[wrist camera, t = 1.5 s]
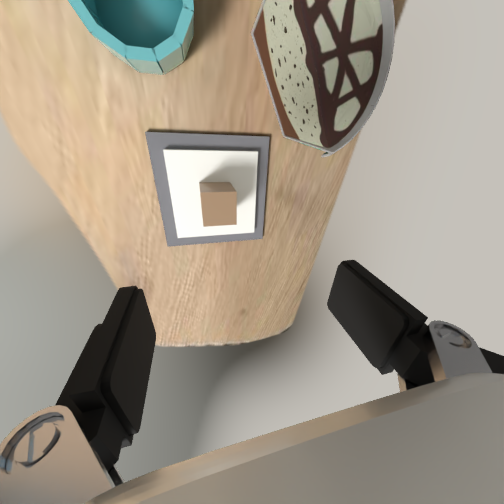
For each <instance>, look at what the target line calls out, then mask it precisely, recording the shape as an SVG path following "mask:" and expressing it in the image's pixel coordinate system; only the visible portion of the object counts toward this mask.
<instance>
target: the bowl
mask: <svg viewBox="0 0 504 504" xmlns="http://www.w3.org/2000/svg"><path fill="white" fill-rule="evenodd" d="M68 1H69V3H70V4H71V6H72V7H73V9H74V10H75V11H76V13H77V14H78V16H79V17H80V19H81V20H82V22H83V23H84V25H85V26H86V27H87V29H88V30H89V32H90V33H91V34H92V35H93V36H94V37H95V38H96V39H97V40H98V41H99V42H100V43H101V44H102V45H104V46H105V47H106V48H107V49H108V50H109V51H110V52H111V53H112V54H113V55H115V56H116V57H117V58H119V59H120V60H122V61H123V62H125V63H126V64H128V65H129V66H130V67H132V68H133V69H135V70H136V71H139V72H140V73H150V74H160V75H164V74H166V73H168V72H169V71H171V70H172V69H174V68H175V67H177V66H178V65H180V64H181V63H183V61H184V60H185V57H186V55H187V52H188V49H189V47H190V44H191V41H192V39H193V36H194V5H193V0H68ZM163 72H164V74H163Z"/></svg>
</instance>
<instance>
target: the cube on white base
mask: <svg viewBox="0 0 504 504" xmlns="http://www.w3.org/2000/svg"><path fill="white" fill-rule="evenodd" d="M163 152H164V158H165V164H166V170H167V176H168V182H169V188H170V194H171V200H172V207H173V213H174V219H175V225H176V231H177V237H178V238H185V237H199V236H213V235H227V234H241V233H254V227H255V205H256V184H257V162H258V152H257V151H229V150H183V149H163Z"/></svg>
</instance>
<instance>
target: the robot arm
mask: <svg viewBox="0 0 504 504" xmlns="http://www.w3.org/2000/svg"><path fill="white" fill-rule="evenodd" d="M327 305H328V308H329V310H330V311H331V312H332V313H333V315H334V316H335V318H336V319H337V320H338V322H339V323H340V324H341V325H342V327H343V328H344V329H345V331H346V332H347V333H348V334H349V336H350V337H351V338H352V340H353V341H354V342H355V344H356V345H357V346H358V347H359V349H360V350H361V351H362V352H363V354H364V355H365V356H366V358H367V359H368V360H369V361H370V363H371V364H372V365H373V366H374V367H375V368H377V369H378V370H379V371H380V373H381V374H382V375H383V374H387V373H390V372H392V371H393V370H394V369H395V370H396V372H397V373H398V380H399V388H400V393H396V394H393V395H390V396H386V397H383V398H380V399H377V400H373V401H370V402H367V403H364V404H360V405H357V406H354V407H351V408H348V409H344V410H341V411H338V412H335V413H332V414H328V415H325V416H322V417H319V418H315V419H312V420H309V421H306V422H303V423H299V424H296V425H293V426H290V427H287V428H284V429H281V430H277V431H274V432H271V433H268V434H265V435H262V436H258V437H256V438H252V439H249V440H246V441H243V442H240V443H237V444H233V445H230V446H227V447H224V448H221V449H218V450H215V451H211V452H209V453H205V454H203V455H200V456H197V457H194V458H191V459H188V460H185V461H182V462H179V463H176V464H173V465H170V466H167V467H164V468H161V469H158V470H155V471H153V472H151V473H148V474H145V475H143V476H140V477H138V478H135V479H133V480H130V481H128V482H124V479H123V478H122V476H121V474H120V473H119V471H118V469H117V467H116V466H115V463H116V462H117V461H118V459H119V454H120V450H121V448H123V447H127V446H131V444H132V440H133V435H134V434H135V433H138V432H139V429H140V425H141V419H142V414H143V409H144V403H145V397H146V392H147V386H148V380H149V375H150V368H151V364H152V358H153V353H154V347H155V341H156V332H155V329H154V325H153V322H152V319H151V315H150V312H149V309H148V305H147V302H146V299H145V296H144V292H143V290H142V289H138V288H137V286H130V287H122V288H119V290H118V292H117V294H116V296H115V298H114V300H113V302H112V304H111V307H110V309H109V311H108V313H107V315H106V317H105V319H104V321H103V323H102V324H98V325H97V326H96V327H95V328H94V330H93V332H92V333H91V335H90V338H89V339H88V341H87V343H86V345H85V347H84V349H83V351H82V353H81V355H80V357H79V359H78V361H77V363H76V365H75V368H74V369H73V371H72V373H71V375H70V377H69V379H68V381H67V383H66V385H65V387H64V389H63V391H62V393H61V395H60V397H59V399H58V401H57V403H56V405H55V406H50V407H47V408H45V409H42V410H40V411H38V412H36V413H34V414H33V415H31V416H29V417H28V418H26V419H25V420H24V421H23V422H21V423H20V424H19V425H18V426H16V427H15V428H14V429H13V430H12V431H11V432H10V433H9V434H8V435H7V437H5V438H4V440H3V441H2V442H1V444H0V504H504V356H502V355H499V354H496V353H493V352H491V351H487V350H485V349H482V348H479V347H478V345H477V344H476V342H475V341H474V339H473V338H472V337H471V336H470V335H469V334H467V333H466V332H465V331H463V330H462V329H461V328H459V327H457V326H454V325H453V324H450V323H447V322H444V321H432V322H431V323H430V324H429V325H428V326H427V325H426V324H425V321H426V320H427V318H428V317H426V316H425V315H424V314H423V313H421V312H420V311H419V310H418V309H416V308H415V307H414V306H413V305H411V304H410V303H409V302H407V301H406V300H405V299H403V298H402V297H401V296H400V295H399V294H397V293H396V292H395V291H393V290H392V289H391V288H390V287H388V286H387V285H386V284H385V283H383V282H382V281H381V280H379V279H378V278H377V277H376V276H374V275H373V274H372V273H370V272H369V271H368V270H367V269H365V268H364V267H363V266H362V265H360V264H359V263H358V262H356V261H355V260H347V261H342V262H341V264H340V265H339V266H338V268H337V271H336V275H335V278H334V282H333V285H332V288H331V292H330V295H329V299H328V302H327Z"/></svg>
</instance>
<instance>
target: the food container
mask: <svg viewBox="0 0 504 504" xmlns="http://www.w3.org/2000/svg"><path fill="white" fill-rule="evenodd" d="M394 33H395V18H394V4H393V0H262V3H261V6H260V8H259V11H258V14H257V17H256V20H255V22H254V25H253V28H252V31H251V36H252V39H253V42H254V45H255V48H256V51H257V55H258V58H259V61H260V64H261V67H262V71H263V74H264V77H265V80H266V83H267V87H268V90H269V93H270V96H271V99H272V103H273V106H274V109H275V112H276V115H277V119H278V122H279V125H280V128H281V131H282V135H283V137H284V138H287V139H290V140H293V141H296V142H299V143H302V144H305V145H307V146H310V147H313V148H316V149H319V150H322V151H325V152H326V153H324V154H323V155H321V157H326V156H330V155H332V154H333V153H335V152H337V151H338V150H340V149H341V148H343V147H344V146H345V145H346V144H347V143H348V142H350V141H351V140H352V139H353V138H354V137H355V136H356V134H357V133H358V132H359V131H360V130H361V129H362V127H363V126H364V125H365V123H366V122H367V120H368V119H369V117H370V116H371V114H372V112H373V110H374V108H375V107H376V105H377V103H378V101H379V98H380V96H381V94H382V92H383V89H384V86H385V83H386V80H387V77H388V73H389V69H390V65H391V60H392V54H393V46H394Z"/></svg>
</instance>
